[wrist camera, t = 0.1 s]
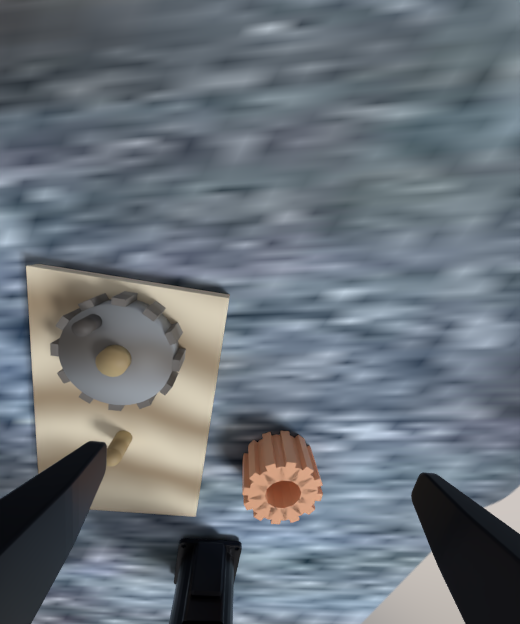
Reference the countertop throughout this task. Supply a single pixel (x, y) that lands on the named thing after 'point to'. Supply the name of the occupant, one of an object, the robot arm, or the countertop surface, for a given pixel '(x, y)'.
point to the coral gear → (280, 478)
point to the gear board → (154, 425)
